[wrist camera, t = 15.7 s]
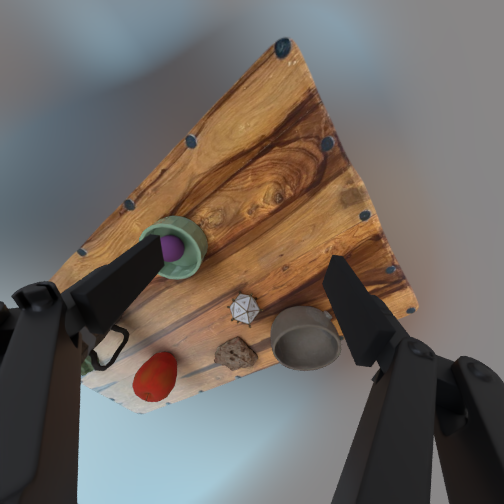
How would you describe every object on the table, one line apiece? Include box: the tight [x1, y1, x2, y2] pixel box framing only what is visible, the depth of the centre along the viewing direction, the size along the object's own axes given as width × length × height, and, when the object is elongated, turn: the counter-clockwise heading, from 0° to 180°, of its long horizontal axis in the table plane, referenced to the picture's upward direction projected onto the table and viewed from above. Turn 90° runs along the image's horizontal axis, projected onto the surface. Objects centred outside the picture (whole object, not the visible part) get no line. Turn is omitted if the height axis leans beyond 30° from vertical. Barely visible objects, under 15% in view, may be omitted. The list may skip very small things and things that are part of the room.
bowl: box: [271, 306, 341, 371], centre depth 50 cm, size 17×18×10 cm
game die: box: [227, 291, 264, 328], centre depth 48 cm, size 9×8×10 cm
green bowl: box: [139, 216, 208, 279], centre depth 42 cm, size 13×13×6 cm
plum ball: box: [160, 235, 185, 262], centre depth 41 cm, size 6×6×6 cm
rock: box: [214, 337, 258, 371], centre depth 62 cm, size 14×13×4 cm
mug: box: [80, 315, 129, 371], centre depth 51 cm, size 20×14×15 cm
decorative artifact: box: [81, 355, 99, 376], centre depth 67 cm, size 10×7×10 cm
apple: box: [132, 352, 177, 402], centre depth 60 cm, size 12×12×14 cm
